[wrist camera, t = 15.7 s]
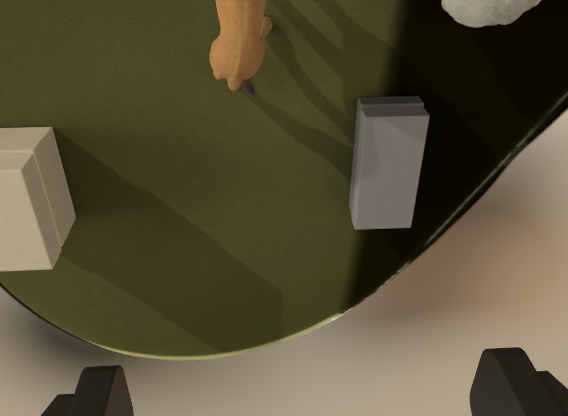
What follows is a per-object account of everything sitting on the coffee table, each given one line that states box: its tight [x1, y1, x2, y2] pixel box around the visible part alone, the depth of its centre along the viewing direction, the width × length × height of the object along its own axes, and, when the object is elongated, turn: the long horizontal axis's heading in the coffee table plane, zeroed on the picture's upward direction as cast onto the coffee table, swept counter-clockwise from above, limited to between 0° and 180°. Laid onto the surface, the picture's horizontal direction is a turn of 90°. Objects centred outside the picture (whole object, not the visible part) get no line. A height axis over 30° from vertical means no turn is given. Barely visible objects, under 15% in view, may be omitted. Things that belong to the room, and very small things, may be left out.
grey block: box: [349, 96, 429, 229], centre depth 39 cm, size 10×4×3 cm, turn 0°
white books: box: [0, 127, 76, 247], centre depth 38 cm, size 8×6×4 cm
